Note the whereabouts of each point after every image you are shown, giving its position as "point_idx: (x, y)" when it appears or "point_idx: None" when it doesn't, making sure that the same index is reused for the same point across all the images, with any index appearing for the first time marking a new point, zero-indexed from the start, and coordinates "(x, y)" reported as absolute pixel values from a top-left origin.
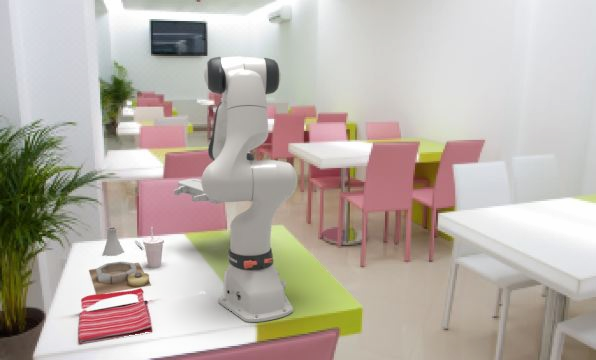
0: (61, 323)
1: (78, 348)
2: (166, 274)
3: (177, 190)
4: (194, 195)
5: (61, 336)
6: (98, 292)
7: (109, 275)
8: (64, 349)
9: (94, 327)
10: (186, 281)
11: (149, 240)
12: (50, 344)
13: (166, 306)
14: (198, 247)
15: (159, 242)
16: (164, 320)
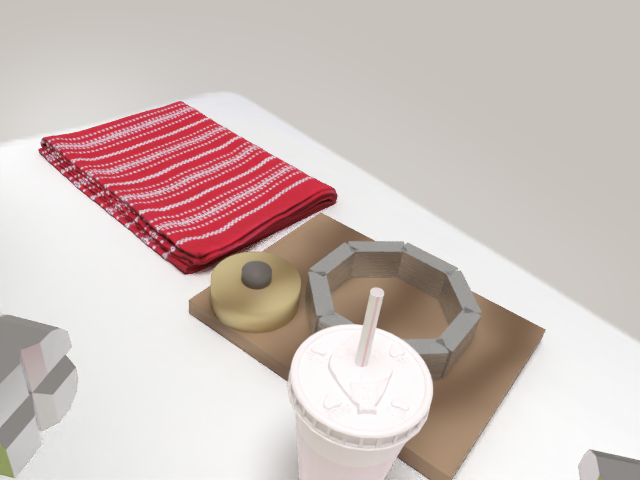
0: (288, 142)
1: (172, 103)
2: (218, 454)
3: (600, 464)
4: (15, 354)
5: (241, 118)
6: (327, 222)
7: (356, 244)
8: (197, 99)
9: (190, 131)
10: (63, 420)
11: (371, 351)
12: (237, 103)
13: (58, 240)
14: None
15: (293, 358)
16: (28, 189)
